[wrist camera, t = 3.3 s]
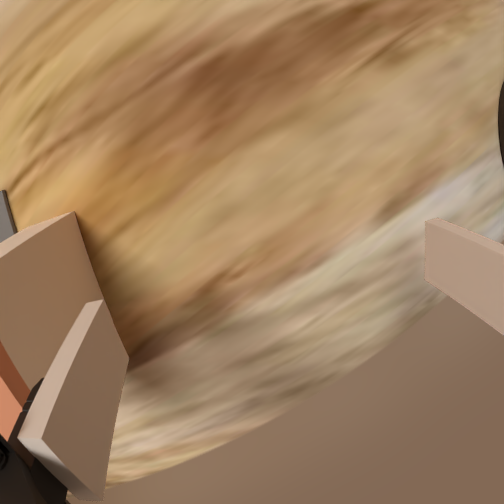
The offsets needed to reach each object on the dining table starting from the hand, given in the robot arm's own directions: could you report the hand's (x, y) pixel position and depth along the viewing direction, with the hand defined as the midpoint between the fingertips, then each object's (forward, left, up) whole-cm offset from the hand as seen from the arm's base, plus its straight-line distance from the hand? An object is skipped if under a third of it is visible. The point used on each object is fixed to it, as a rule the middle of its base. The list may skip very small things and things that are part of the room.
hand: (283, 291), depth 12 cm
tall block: (+12, 0, -9) cm, 15 cm away
